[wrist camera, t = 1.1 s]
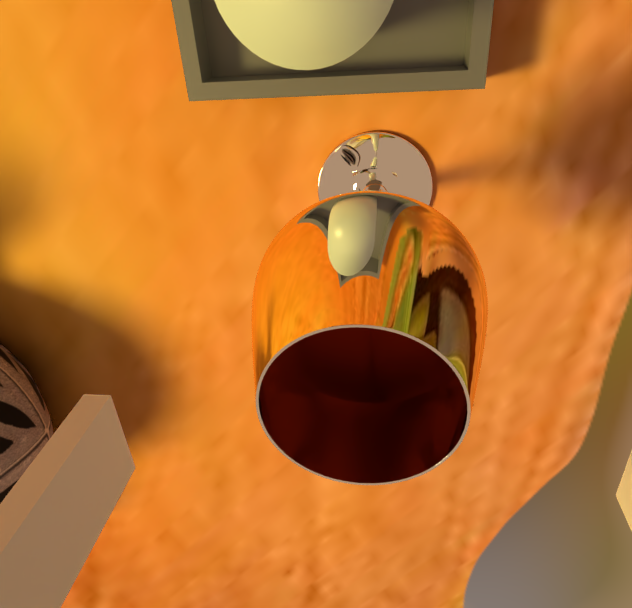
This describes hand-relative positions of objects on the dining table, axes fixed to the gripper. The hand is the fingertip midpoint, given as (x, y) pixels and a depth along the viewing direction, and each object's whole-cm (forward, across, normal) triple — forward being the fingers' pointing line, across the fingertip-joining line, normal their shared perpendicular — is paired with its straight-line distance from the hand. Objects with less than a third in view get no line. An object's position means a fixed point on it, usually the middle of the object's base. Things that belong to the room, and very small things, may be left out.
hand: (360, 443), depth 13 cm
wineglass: (+19, 0, 0) cm, 19 cm away
